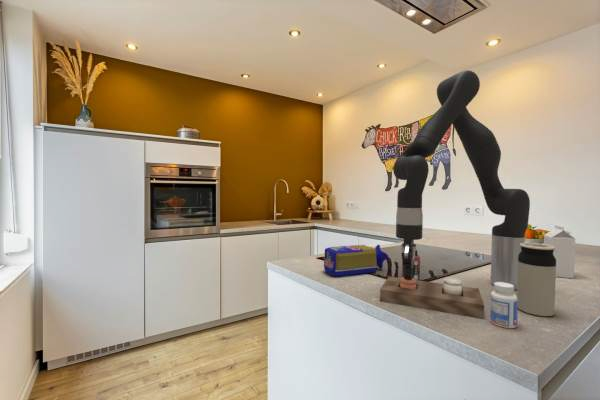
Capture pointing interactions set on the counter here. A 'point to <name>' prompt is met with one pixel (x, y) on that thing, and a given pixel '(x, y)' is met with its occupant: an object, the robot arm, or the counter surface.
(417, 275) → the supplement bottle
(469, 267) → the counter surface
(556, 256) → the milk carton
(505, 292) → the pill bottle
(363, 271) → the bread
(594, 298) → the counter surface
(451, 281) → the white lidded jar
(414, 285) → the orange lidded jar
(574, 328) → the counter surface
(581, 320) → the counter surface
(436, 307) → the panel
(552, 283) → the travel mug
